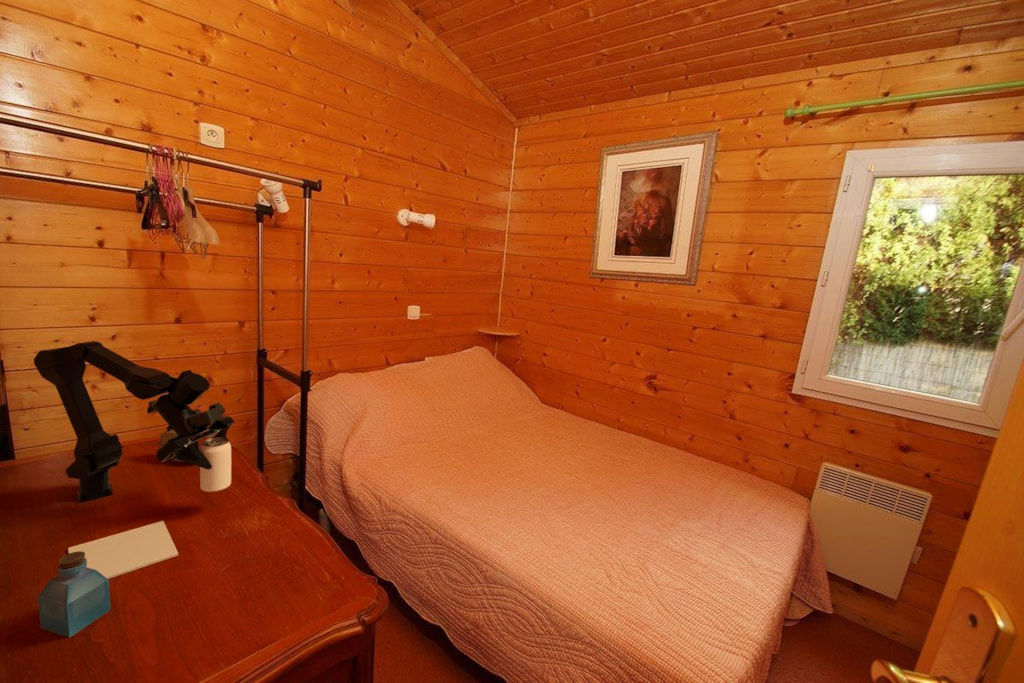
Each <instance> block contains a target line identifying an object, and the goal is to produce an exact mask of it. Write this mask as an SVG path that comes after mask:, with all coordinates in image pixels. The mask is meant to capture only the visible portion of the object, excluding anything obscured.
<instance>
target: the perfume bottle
mask: <svg viewBox="0 0 1024 683" xmlns="http://www.w3.org/2000/svg"><path fill="white" fill-rule="evenodd" d="M84 557H85V552H81V551H79V552H73V553H69V552H68V553H67V554H65V555H63V556H62V557H60V558H59V560H58V563H59V565H58V567H57V568H58V569H57V572H58V575H57V576H55V577H53V578H52V579H49V581H48V582H47V584H46V585H45V586H44V588H43V589H42V590H41V592H40V593H39V594H38V596H37V598H38V609H39V612H38V613H39V620H40V629H41V628H44V629H46V630H45V631H47V630H48V631H47V632H50V631H51V632H50V633H54V634H56V633H57V635H61V636H63V637H66V638H69V639H70V638H71V637H73V636H75V635H76V634H77V633H79V632H80V631H82V630H84V629H85V628H86V627H88V626H90V624H92V623H94V622H95V621H96V620H99V619H100V618H101V617H102V616H104V615H105V614H108V613H109V612H110V611H111V601H110V600H111V597H110V583H109V579H107V578H106V577H105V576H103V575H102V574H101V573H99V572H98V571H97V570H95V569H91V568H87V567H86V566H87V559H86V558H84ZM44 629H43V630H44Z"/></svg>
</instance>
